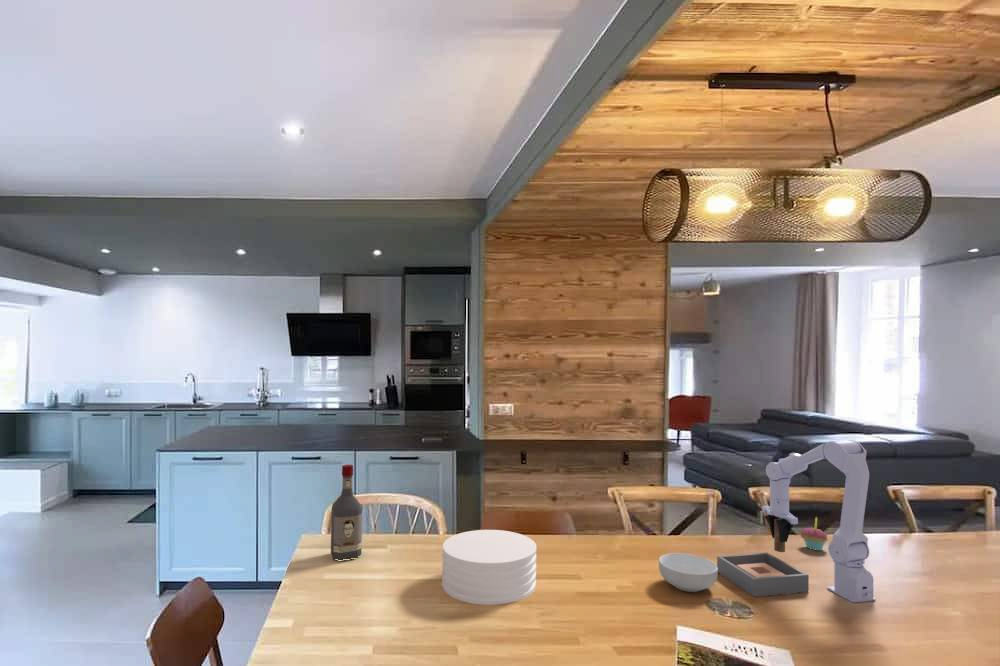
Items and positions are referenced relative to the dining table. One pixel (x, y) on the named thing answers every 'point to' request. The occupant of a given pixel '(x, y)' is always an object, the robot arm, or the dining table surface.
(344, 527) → the liquor
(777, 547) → the peg
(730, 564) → the box
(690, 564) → the cereal bowl
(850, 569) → the robot arm
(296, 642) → the dining table surface
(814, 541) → the cupcake
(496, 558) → the plate stack
